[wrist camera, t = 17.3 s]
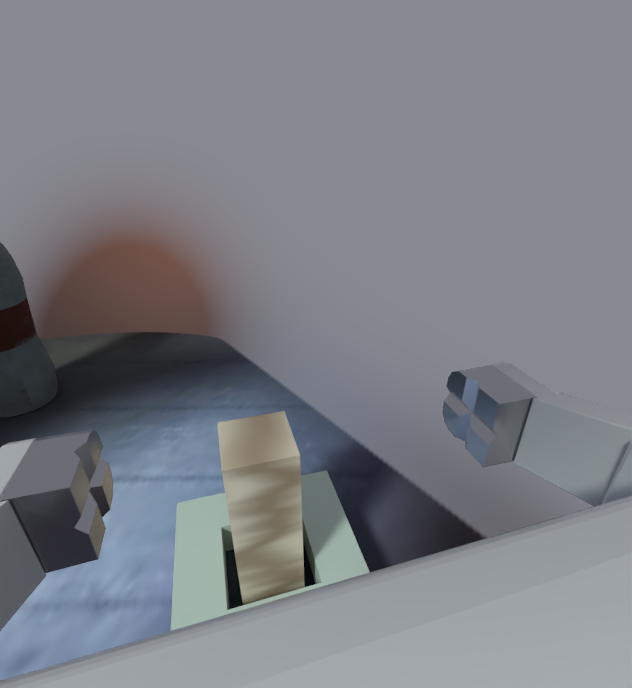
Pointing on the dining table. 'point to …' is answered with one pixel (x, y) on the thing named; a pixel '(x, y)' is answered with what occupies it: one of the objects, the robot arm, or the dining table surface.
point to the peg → (263, 504)
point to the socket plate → (216, 538)
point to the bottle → (20, 348)
